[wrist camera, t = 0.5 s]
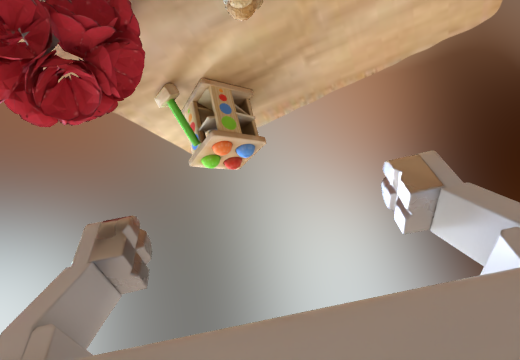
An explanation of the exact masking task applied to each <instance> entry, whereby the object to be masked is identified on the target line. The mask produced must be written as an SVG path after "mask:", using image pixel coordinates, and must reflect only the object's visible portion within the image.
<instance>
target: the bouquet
mask: <svg viewBox="0 0 520 360" xmlns="http://www.w3.org/2000/svg"><path fill="white" fill-rule="evenodd" d="M45 1H46V2H43V1H39V0H0V103H2V102H3V101H4V103H5V104H6V106H7V107H8V108H9V109H10V110H11V111H13V112H14V113H16V114H19V115H20V117H21V118H22V119H23V120H25V121H27V122H30V123H31V124H33V125H37V126H39V127H51V126H52V125H54V124H56V123H57V122H58V120H59V121H60V123H63V124H64V125H66V124H70V125H79V124H81V123H83V122H87V121H90V120H93V119H96V118H97V117H101V116H103V115H104V114H105V113H107V114H108V113H110V112H112V111H114V110H115V109H116V107H117V106H118V103H117V101H122V100H124V98H126V97H128V96H130V95H131V94H132V93H133V92H134V91H135V88H136V86H137V85H138V84H139V82H140V80H141V76H142V73H143V72H142V71H143V68H144V59H145V51H144V50H143V49H142V43H141V40H140V38H139V36H140V28H139V23H138V21H137V19H136V17H135V15H134V14H133V11H132V8H131V3H130V1H128V0H45ZM23 38H24V40H25V42H18V41H20V40H21V39H23ZM57 44H59V45H60V46H61V48H62V49H63V50H64V51H66V52H68V53H71V54H73V55H75V56H78V57H80V58H83V60H84V61H85V62H84V61H82V60H80V59H79V60H80V61H77V60H72V59H70V60H66V59H63V58H61V57H59V56H57V55H54V54H55V53H56V52H57V51H56V50H54V51H52V50H53V49H54V48H55V46H56V45H57ZM51 51H52V52H51ZM72 62H73V63H72ZM69 63H70V64H69ZM57 66H58V67H57ZM43 67H47V68H46V69H45V70H43ZM70 72H73V73H75V74H77V75H78V76H79V78H78V77H76V76H74V75H72V74H70V75H71V79H72V80H71V79H70V78H69V76H68V77H66V78H65V77H64V78H63V79H62V80H61V81H60V82H59V83H58V80H59V79H60V78H61V77H62V76H63V75H66V74H68V73H70Z"/></svg>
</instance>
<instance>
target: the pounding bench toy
mask: <svg viewBox="0 0 520 360" xmlns="http://www.w3.org/2000/svg"><path fill="white" fill-rule="evenodd" d="M179 94H180V93H179V91H178V90H177V88H176V86H175V85H174V84H166V85H165V86H164V87H163V88H162V89H161V91H160V92H159V93H158V95H157V96H156V97H155V101H156V103H157V104H158V106H159V107H160V108H162V107H166V106H169V107H170V109H171V110H172V112H173V114H174V115H175V117H176V119H177V120H178V122H179V123H180V125H181V127H182V128H183V130H184V131H185V133H186V135H187V136H188V138H189V141H190V146H191V151H192V157H191V158H190V159H189V165H190V166H194V167H206V168H220V169H233V170H238V169H240V168H241V167H242V166H243V165H244V164H245V163H246V162H247V161H248V160H249V159H250V158H251V157H252V156H253V155H255V154H256V153H257V152H258V151H259V150H260V149H261V148H262V147H263V146H264V145H265V144H266V140H265V138H264V137H261V136H258V132H257V128H256V124H255V120H254V119H255V116H253V113H252V109H251V105H250V101H249V100H250V98H251V97H252V96H253V91H252V90H251V89H247V88H243V87H239V86H234V85H230V84H226V83H221V82H217V81H213V80H208V79H204V78H201V79H200V81H199V83H198V84H197V86H196V88H195V89H194V91H193V93H192V95H191V96H190V98H189V100H188V101H187V103H186V105H185V107H184V108H183V110H182V112H181V110H180V109H179V107H178V106H177V104H176V102H175V101H174V100H175V99H176V98H177V96H178V95H179ZM205 133H207V137H206V136H205Z"/></svg>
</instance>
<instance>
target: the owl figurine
mask: <svg viewBox="0 0 520 360" xmlns="http://www.w3.org/2000/svg"><path fill="white" fill-rule="evenodd" d="M223 1H224V3H225V4H226V7H225V8H226V10H227V11H228V13H229V14H230V15H231V16H232V17H233V18H235V19H236V20H240V21H243V20H247V19H248V18H250V17H251V16H252V15H253V13H254V12H255V10H257V9H259V8H260V6H261V5H262V3H263V0H223Z"/></svg>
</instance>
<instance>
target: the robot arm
mask: <svg viewBox="0 0 520 360" xmlns="http://www.w3.org/2000/svg"><path fill="white" fill-rule="evenodd" d="M383 172H384V174H385V175H386V177H385V178H384V179H383V180H382V188H381V189H382V194H383V199H384V201H385V204H386V205H387V207H388V209H390V210H392V211H394V212H395V216H394V219H395V221H396V223H397V225H398V226H399V228H400V230H401V231H402V233H403V234H408V233H413V232H420V231H425V230H430V231H431V232H433V233H434V234H436V235H437V236H439V237H440V238H442V239H443V240H445V241H447V242H448V243H449V244H451V245H452V246H454V247H455V248H457V249H458V250H460V251H461V252H463V253H465V254H466V255H468V256H469V257H471V258H472V259H474V260H475V261H477V262H478V263H480V264H481V265H483V266H484V268H483V270H482V272H481V274H480V275H479V276H475V277H470V278H465V279H460V280H455V281H451V282H446V283H441V284H436V285H432V286H427V287H421V288H417V289H412V290H407V291H403V292H397V293H393V294H388V295H383V296H378V297H373V298H369V299H364V300H359V301H354V302H350V303H344V304H340V305H335V306H331V307H325V308H320V309H316V310H311V311H306V312H301V313H296V314H292V315H287V316H282V317H277V318H272V319H268V320H263V321H258V322H253V323H248V324H244V325H239V326H234V327H229V328H224V329H219V330H214V331H210V332H205V333H200V334H195V335H190V336H186V337H181V338H176V339H171V340H166V341H161V342H157V343H152V344H147V345H142V346H137V347H132V348H128V349H123V350H118V351H113V352H108V353H104V354H99V355H94V356H93V355H92V354H91V353H89V352H88V351H87V350H86V349H87V347H88V346H89V345H90V343H91V341H92V340H93V338H94V337H95V335H96V333H97V332H98V331H99V329H100V328H101V326H102V325H103V323H104V322H105V320H106V319H107V317H108V316H109V314H110V312H111V311H112V310H113V308H114V307H115V305H116V304H117V302H118V301H119V299H120V298H121V294H125V293H129V292H133V291H138V290H142V289H146V288H147V285H148V278H149V269H148V267H147V266H146V264H147V263H148V262H149V261H150V259H151V255H152V246H151V241H150V239H149V236H148V234H147V233H146V231H144V230H142V229H140V221H139V220H138V219H137V217H136V216H128V217H122V218H118V219H112V220H107V221H103V222H98V223H93V224H88V225H87V226H86V227H85V228H84V231H83V233H82V236H81V239H80V242H79V245H78V248H77V251H76V253H75V256H74V259H73V262H72V265H71V267H68V268H66V269H65V270H64V271H63V272H62V273H61V274H60V275H59V276H58V277H57V278H56V279H55V280H54V281H53V282H52V283H51V284H50V285H49V286H48V287H47V288H46V289H45V290H44V291H43V292H42V293H41V294H40V295H39V296H38V297H37V298H36V299H35V300H34V301H33V302H32V303H31V304H30V305H29V306H28V307H27V308H26V309H25V310H24V311H23V312H22V313H21V314H20V315H19V316H18V317H17V318H16V319H15V320H14V321H13V322H12V323H11V324H10V325H9V326H8V327H7V328H6V329H5V330H4V331H3V332H2V333H1V335H0V360H520V203H519V202H516V201H514V200H511V199H509V198H506V197H504V196H501V195H499V194H496V193H494V192H491V191H489V190H486V189H484V188H481V187H478V186H476V185H474V184H471V183H463V182H462V181H461V180H460V179H459V177H458V176H457V175H456V174H455V173H454V172H453V171H452V170H451V168H450V167H449V166H448V165H447V164H446V163H445V162H444V161H443V159H441V157H440V156H439V155H438V154H437V153H436V152H435V151H429V152H425V153H420V154H416V155H412V156H407V157H403V158H398V159H394V160H389V161H385V163H384V166H383Z"/></svg>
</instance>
